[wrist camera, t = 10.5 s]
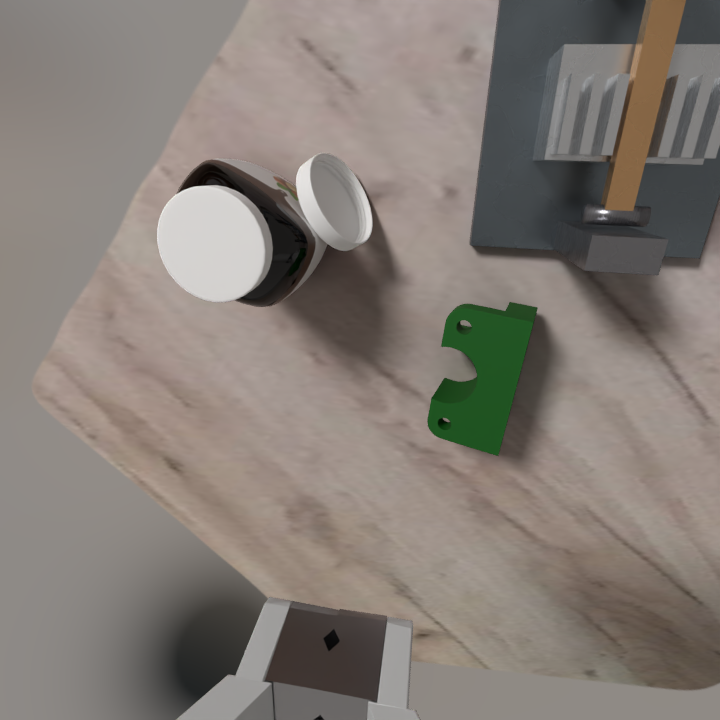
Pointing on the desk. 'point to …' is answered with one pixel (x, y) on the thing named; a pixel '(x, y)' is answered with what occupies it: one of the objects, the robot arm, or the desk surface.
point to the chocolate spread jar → (259, 227)
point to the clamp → (482, 374)
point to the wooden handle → (638, 118)
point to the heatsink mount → (595, 133)
